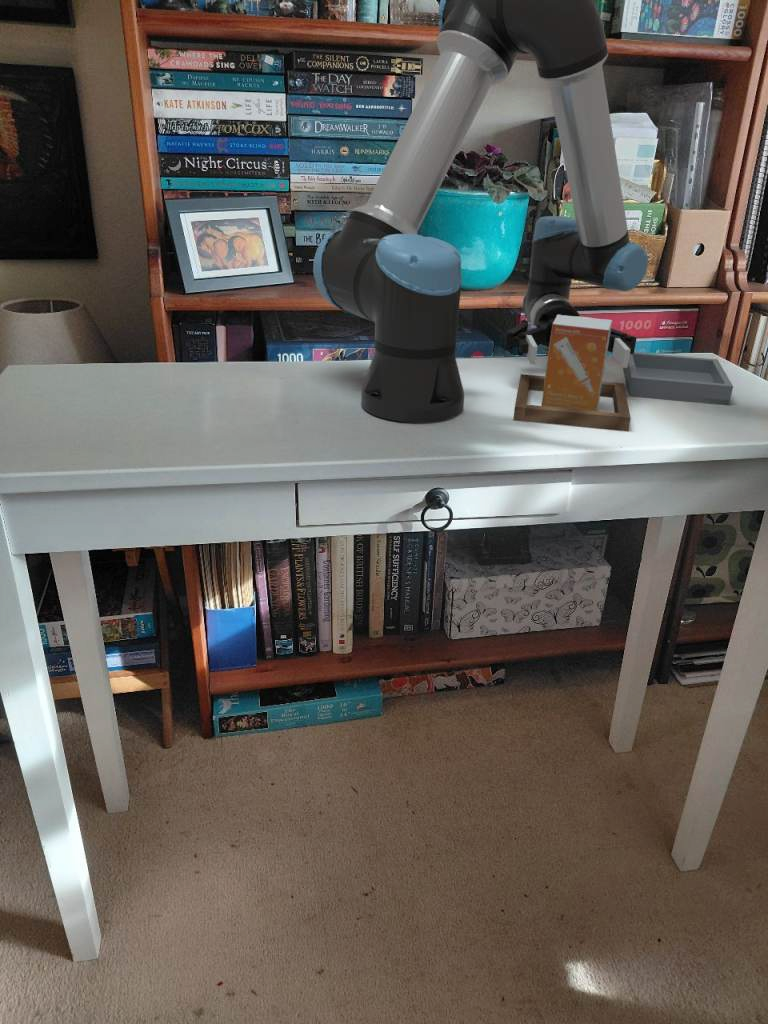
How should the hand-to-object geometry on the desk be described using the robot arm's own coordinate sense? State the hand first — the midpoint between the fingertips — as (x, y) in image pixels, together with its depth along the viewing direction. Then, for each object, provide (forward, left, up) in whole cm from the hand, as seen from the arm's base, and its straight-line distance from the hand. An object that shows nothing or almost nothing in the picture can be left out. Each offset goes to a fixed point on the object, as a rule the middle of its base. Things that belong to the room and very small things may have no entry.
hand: (580, 357), depth 121 cm
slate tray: (+16, +14, -7) cm, 23 cm away
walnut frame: (-1, -1, -7) cm, 7 cm away
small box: (-1, -1, -8) cm, 8 cm away
